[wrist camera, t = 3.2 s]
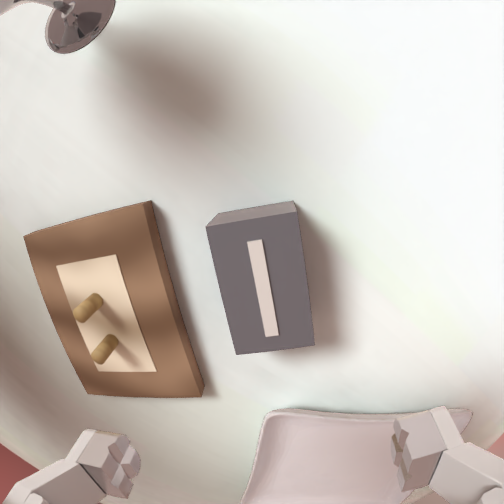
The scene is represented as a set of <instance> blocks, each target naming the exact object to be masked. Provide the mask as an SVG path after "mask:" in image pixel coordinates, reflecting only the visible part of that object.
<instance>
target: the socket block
mask: <svg viewBox="0 0 504 504" xmlns="http://www.w3.org/2000/svg"><path fill="white" fill-rule="evenodd" d="M206 231H207V236H208V240H209V245H210V249H211V253H212V258H213V262H214V266H215V271H216V275H217V279H218V284H219V288H220V292H221V296H222V300H223V304H224V308H225V312H226V316H227V321H228V325H229V328H230V332H231V336H232V340H233V344H234V348H235V352H236V355H240V354H250V353H259V352H268V351H276V350H284V349H292V348H299V347H306V346H313V345H315V342H314V333H313V324H312V316H311V308H310V300H309V292H308V284H307V276H306V269H305V262H304V255H303V248H302V241H301V234H300V227H299V221H298V214H297V210H296V207H295V204H294V202H293V201H289V202H282V203H276V204H270V205H264V206H258V207H252V208H246V209H240V210H235V211H229V212H224V213H218V214H217V215H216V216H215V217H214V218H213V219H212V221H211V222H210V223H209V224H208V225H207V226H206Z"/></svg>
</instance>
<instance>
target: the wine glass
mask: <svg viewBox="0 0 504 504" xmlns="http://www.w3.org/2000/svg"><path fill="white" fill-rule="evenodd" d="M31 2H33V3H39V4H43V5H46V6H49V7H52V8H53V10H52V11H51V13H50V15H49V18H48V20H47V23H46V28H45V39H46V42H47V44H48V46H49V47H50V49H51V50H53V51H54V52H57V53H70V52H73V51H76V50H78V49H80V48H82V47H84V46H85V45H87V44H88V43H89V42H91V41H92V40H93V39H94V38H95V37H96V36H97V35H98V34H99V33H100V32H101V31H102V29H103V28H104V27H105V25H106V24H107V22H108V20H109V19H110V16H111V14H112V12H113V9H114V5H115V0H0V16H1V15H2V14H4V13H6V12H7V11H9V10H11V9H13V8H15V7H17V6H19V5H21V4H24V3H31Z"/></svg>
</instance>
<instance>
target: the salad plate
mask: <svg viewBox="0 0 504 504" xmlns="http://www.w3.org/2000/svg"><path fill="white" fill-rule="evenodd" d="M447 410H448V412H449V414H450V416H451V417H452V419H453V421H454V423H455V425H456V427H457V429H458V431H459V433H460V435H461V433H462V432H463V431H464V429H465V428H466V426H467V425H468V423H469V421H470V420H471V418H472V415H473V413H472V412H471V411H470V410H468V409H447ZM411 414H415V413H403V414H346V413H331V412H320V411H311V410H302V409H289V408H287V409H277V410H273V411H271V412H269V413H267V414H266V415H265V417H264V420H263V423H262V426H261V430H260V435H259V440H258V445H257V450H256V455H255V459H254V464H253V467H252V472H251V475H250V478H249V481H248V484H247V487H246V489H245V492H244V494H243V496H242V498H241V501H240V504H401V503H402V502H403V501H404V500H405V499H406V498H407V497H408V496H409V495H410V494H411V493H412V492H413V491H414V490H415V489H413V490H409V491H405V492H401V489H400V486H399V482H398V478H397V473H398V469H399V467H397V466H396V465H394V464H393V460H392V455H391V437H392V436H393V435H394V434H395V431H394V428H393V425H394V421H395V419H396V418H400V417H404V416H408V415H411Z"/></svg>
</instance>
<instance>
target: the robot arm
mask: <svg viewBox="0 0 504 504" xmlns="http://www.w3.org/2000/svg"><path fill="white" fill-rule="evenodd" d="M393 428H394V431H395V434H394V435H393V436H392V437H391V455H392V460H393V464H394V465H396V466H397V467H399V469H398V473H397V478H398V482H399V486H400V489H401V492H405V491H409V490H413V489H417V488H420V487H424V486H427V485H429V486H428V487H430V488H431V489H432V490H433V491H435V492H436V493H437V494H439V495H440V496H441V497H442V498H444V499H445V500H446V501H447V502H449V503H450V504H504V459H502V458H500V457H498V456H496V455H494V454H492V453H490V452H488V451H486V450H484V449H482V448H480V447H478V446H476V445H474V444H473V443H471V442H467V443H464V441H463V439H462V437H461V435H460V433H459V431H458V429H457V427H456V425H455V423H454V421H453V419H452V417H451V416H450V414H449V412H448V410H447V408H446V407H445V406H440V407H436V408H433V409H430V410H425V411H422V412H418V413H415V414H411V415H408V416H404V417H400V418H396V419H395V421H394V425H393ZM129 444H130V440H129V439H128V437H127V436H126V435H123V434H117V433H111V432H105V431H100V430H94V429H89V428H87V429H85V430H83V432H82V433H81V435H80V437H79V438H78V440H77V441H76V443H75V444H74V446H73V447H72V449H71V450H70V452H69V453H68V455H67V457H66V458H65V459H60V460H58V461H57V462H55V463H53V464H51V465H49V466H47V467H46V468H44V469H42V470H40V471H38V472H36V473H34V474H33V475H31V476H29V477H27V478H25V479H23V480H21V481H19V482H17V483H16V484H15V485H14V487H13V488H12V490H11V491H10V493H9V494H8V496H7V497H6V499H5V500H4V502H3V504H97V503H98V502H100V501H101V500H102V499H103V498H105V497H106V496H107V495H111V496H116V497H120V498H126V499H127V498H128V496H129V494H130V491H131V489H132V487H133V482H132V478H133V477H135V476H136V475H138V472H139V470H140V457H139V454H138V453H137V451H136V450H135V449H134V448H132V447H131V446H130V445H129Z"/></svg>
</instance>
